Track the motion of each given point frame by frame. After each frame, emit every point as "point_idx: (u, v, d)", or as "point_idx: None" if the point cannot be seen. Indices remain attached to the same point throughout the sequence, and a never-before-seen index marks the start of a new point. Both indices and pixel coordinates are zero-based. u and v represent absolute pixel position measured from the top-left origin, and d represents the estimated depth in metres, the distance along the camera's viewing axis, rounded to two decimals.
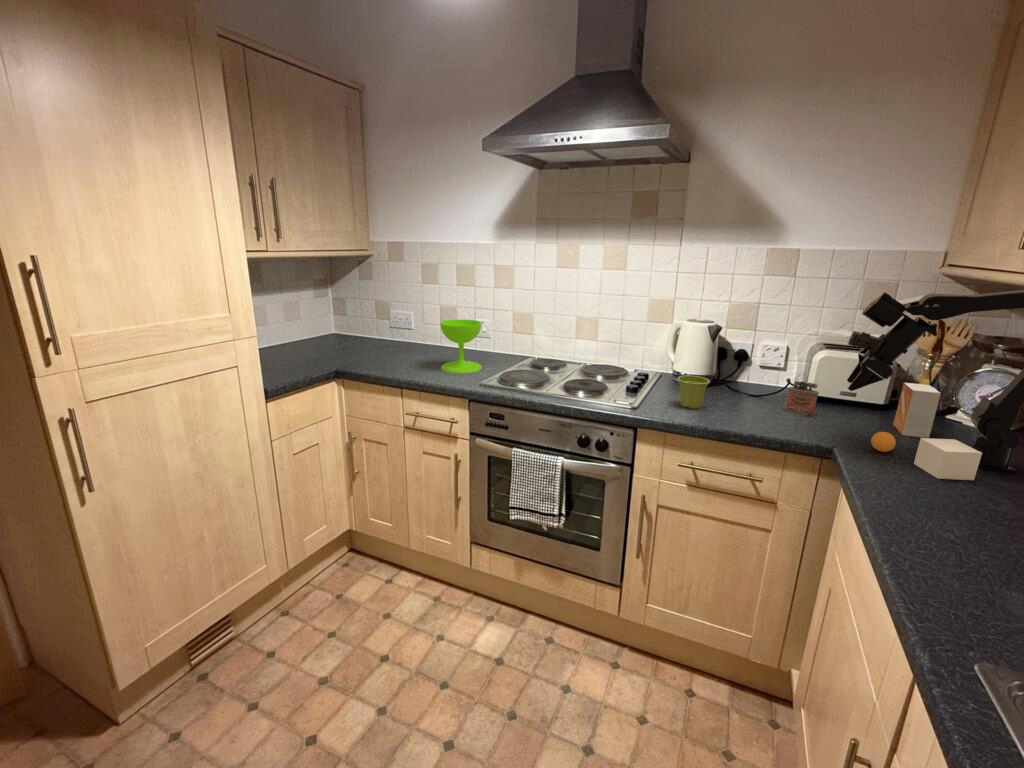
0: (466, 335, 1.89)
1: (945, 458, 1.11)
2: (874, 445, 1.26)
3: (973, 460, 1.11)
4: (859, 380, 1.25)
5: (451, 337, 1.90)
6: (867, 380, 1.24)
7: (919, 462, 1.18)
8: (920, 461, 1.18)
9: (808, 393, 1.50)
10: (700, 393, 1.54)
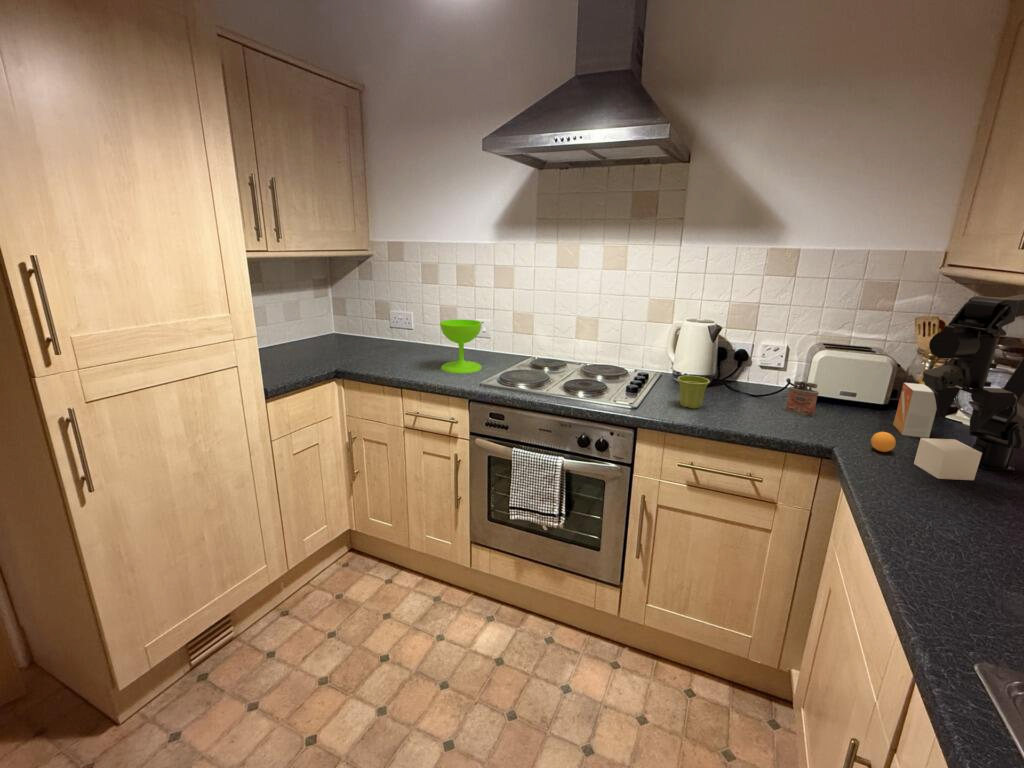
0: (466, 335, 1.89)
1: (945, 458, 1.11)
2: (874, 445, 1.26)
3: (973, 460, 1.11)
4: (979, 418, 1.07)
5: (451, 337, 1.90)
6: (988, 414, 1.06)
7: (919, 462, 1.18)
8: (920, 461, 1.18)
9: (808, 393, 1.50)
10: (700, 393, 1.54)
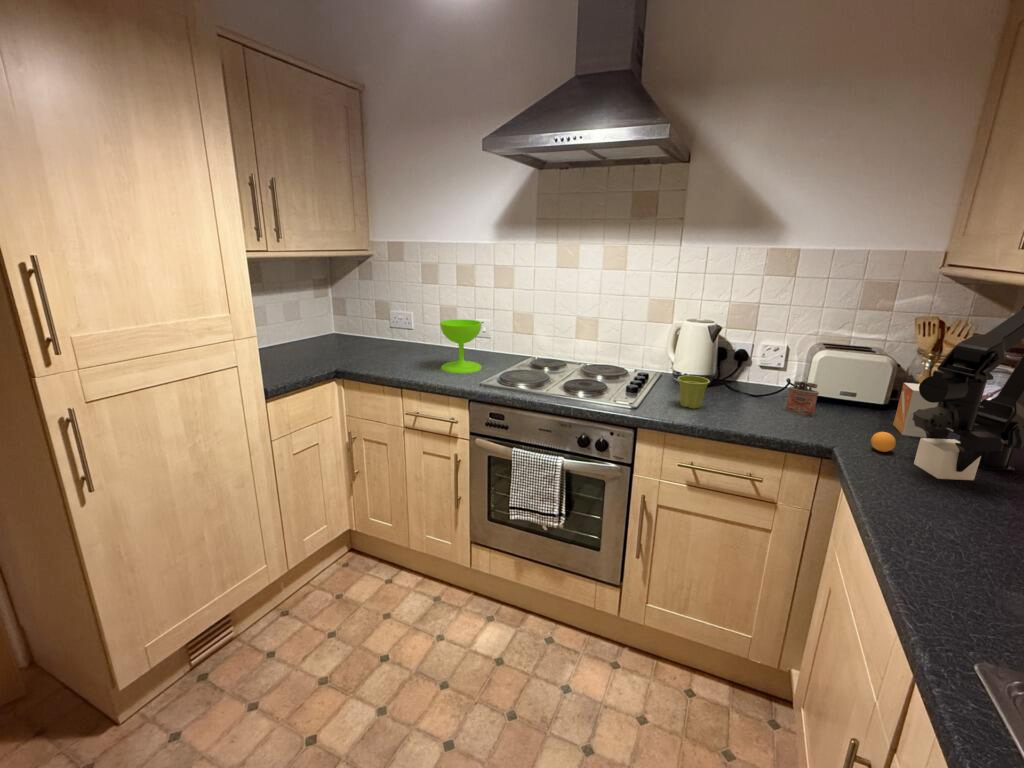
0: (466, 335, 1.89)
1: (945, 458, 1.11)
2: (874, 445, 1.26)
3: None
4: (966, 459, 1.10)
5: (451, 337, 1.90)
6: (974, 456, 1.09)
7: (919, 462, 1.18)
8: (920, 461, 1.18)
9: (808, 393, 1.50)
10: (700, 393, 1.54)
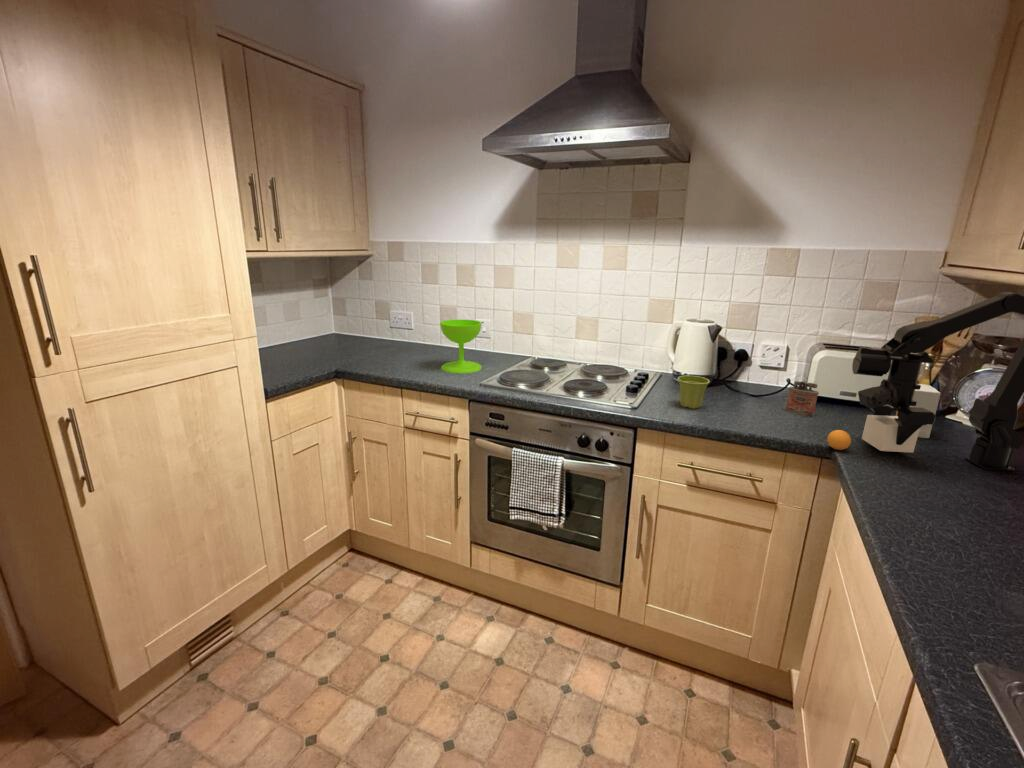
0: (466, 335, 1.89)
1: (886, 432, 1.22)
2: (843, 431, 1.26)
3: (912, 434, 1.22)
4: (904, 433, 1.20)
5: (451, 337, 1.90)
6: (911, 430, 1.20)
7: (866, 437, 1.29)
8: (866, 436, 1.29)
9: (808, 393, 1.50)
10: (700, 393, 1.54)
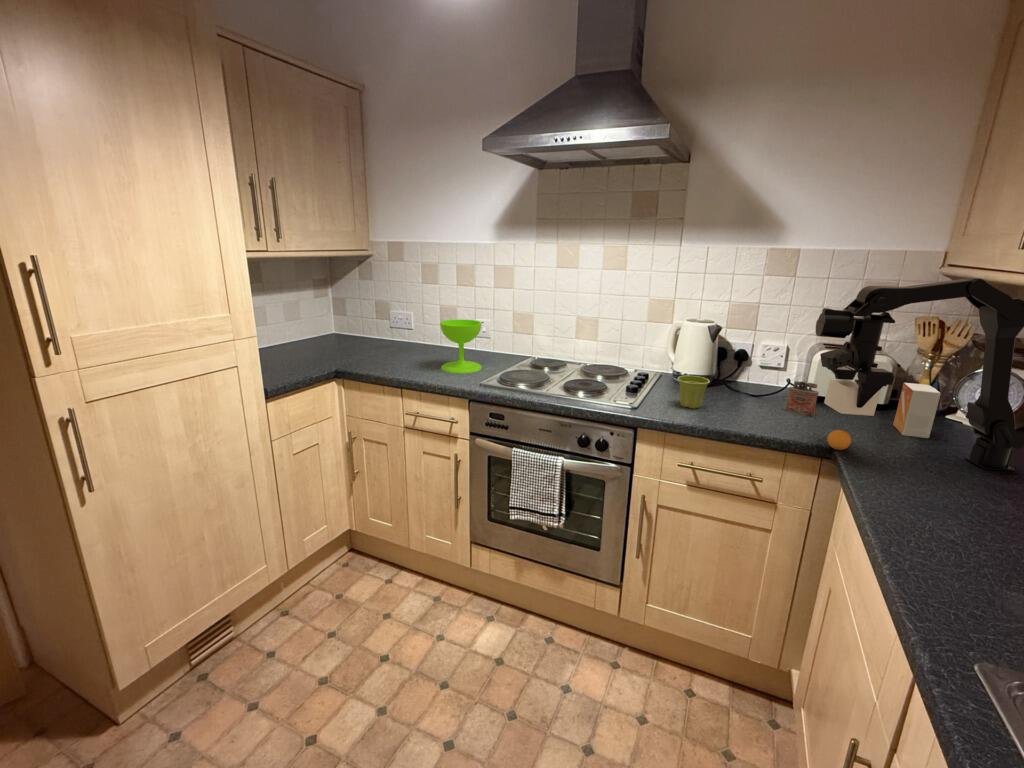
0: (466, 335, 1.89)
1: (847, 394, 1.20)
2: (843, 431, 1.26)
3: (873, 396, 1.20)
4: (864, 395, 1.19)
5: (451, 337, 1.90)
6: (871, 391, 1.18)
7: (828, 401, 1.27)
8: (828, 400, 1.27)
9: (808, 393, 1.50)
10: (700, 393, 1.54)
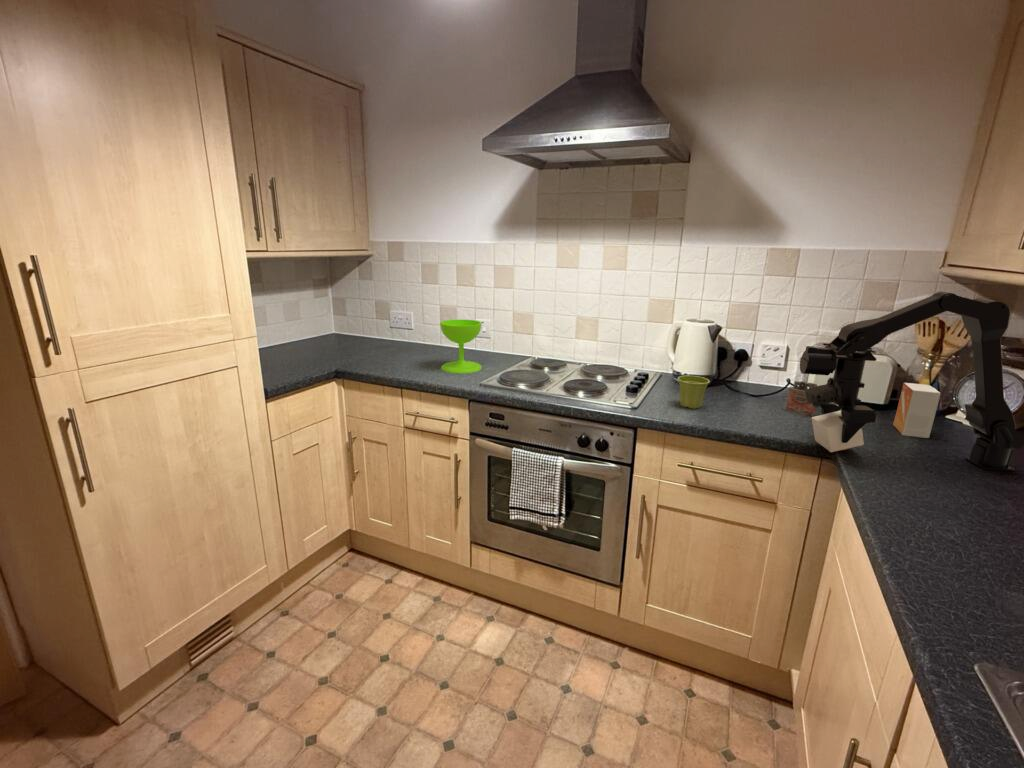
0: (466, 335, 1.89)
1: (829, 434, 1.23)
2: None
3: None
4: (848, 431, 1.21)
5: (451, 337, 1.90)
6: (855, 428, 1.20)
7: (817, 438, 1.30)
8: (817, 438, 1.30)
9: None
10: (700, 393, 1.54)
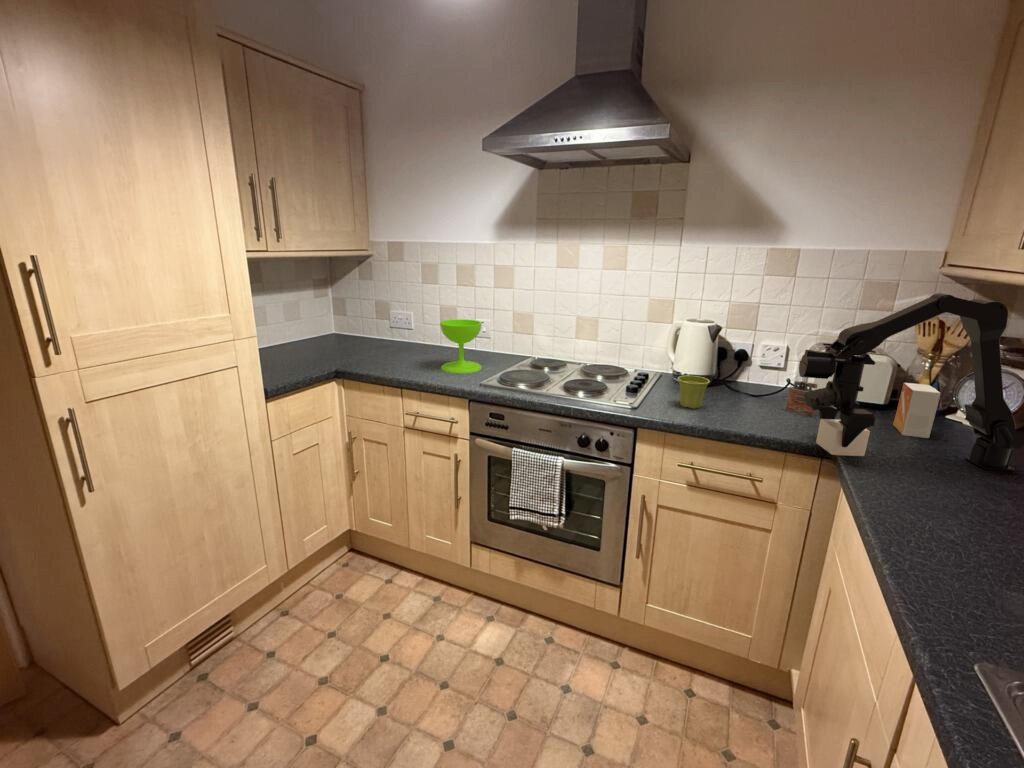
0: (466, 335, 1.89)
1: (837, 436, 1.23)
2: None
3: (862, 438, 1.23)
4: (848, 436, 1.21)
5: (451, 337, 1.90)
6: (855, 432, 1.20)
7: (819, 441, 1.30)
8: (820, 440, 1.30)
9: None
10: (700, 393, 1.54)
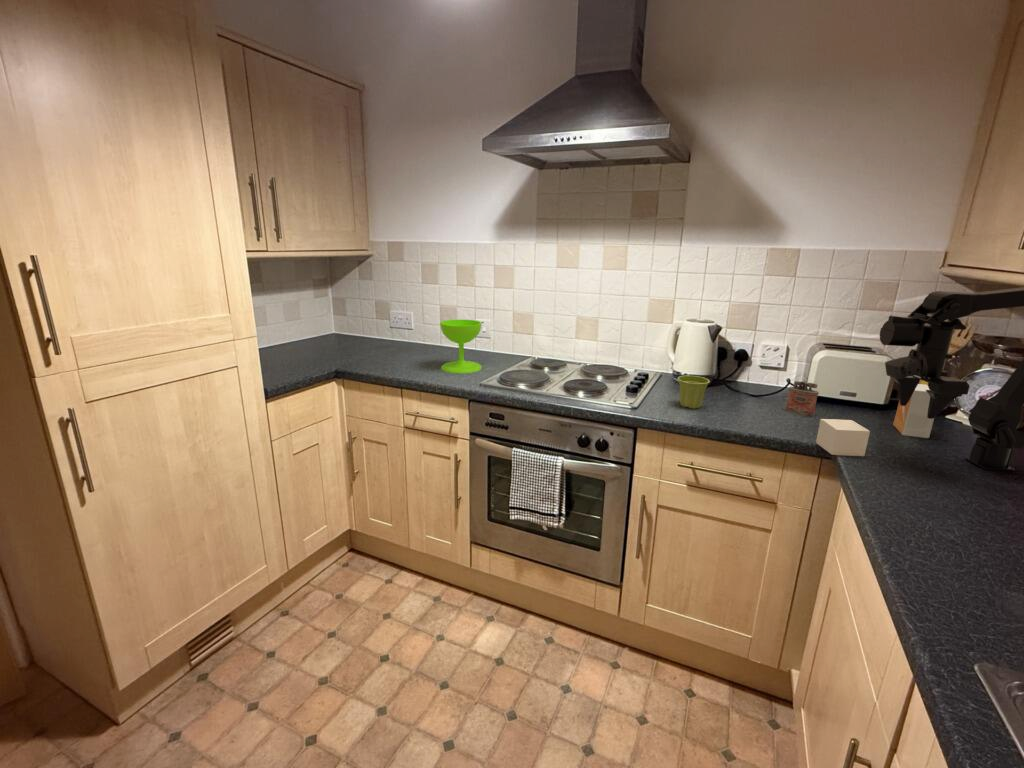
0: (466, 335, 1.89)
1: (837, 436, 1.23)
2: None
3: (862, 438, 1.23)
4: (936, 406, 1.13)
5: (451, 337, 1.90)
6: (944, 402, 1.13)
7: (819, 441, 1.30)
8: (820, 440, 1.30)
9: (808, 393, 1.50)
10: (700, 393, 1.54)
